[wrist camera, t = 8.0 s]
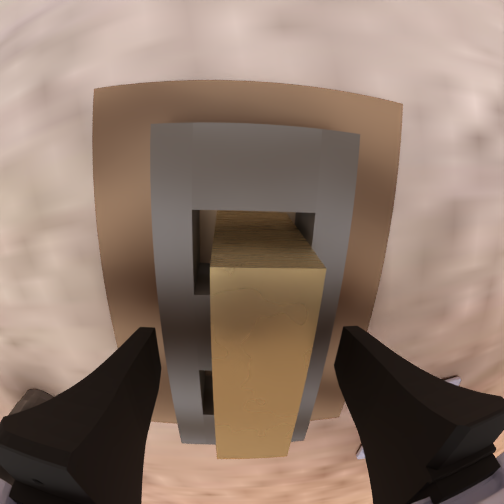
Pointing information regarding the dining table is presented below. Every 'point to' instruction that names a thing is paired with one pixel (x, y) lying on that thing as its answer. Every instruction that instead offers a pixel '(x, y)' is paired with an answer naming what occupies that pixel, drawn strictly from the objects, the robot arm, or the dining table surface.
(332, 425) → the dining table surface
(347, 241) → the rail board
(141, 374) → the robot arm
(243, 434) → the pine wood offcut
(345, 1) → the dining table surface
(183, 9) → the dining table surface
